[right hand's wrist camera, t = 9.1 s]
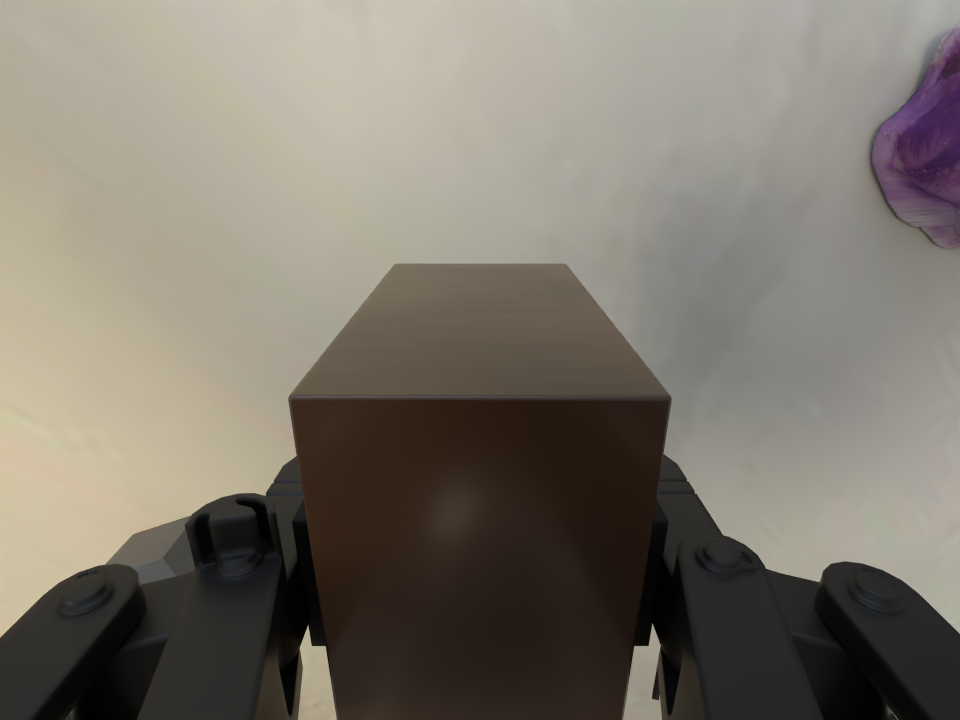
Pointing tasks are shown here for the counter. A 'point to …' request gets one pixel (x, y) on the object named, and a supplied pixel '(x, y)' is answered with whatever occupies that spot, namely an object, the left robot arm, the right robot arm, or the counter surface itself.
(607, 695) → the walnut beam
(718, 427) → the counter surface
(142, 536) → the slate block
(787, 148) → the counter surface
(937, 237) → the figurine
